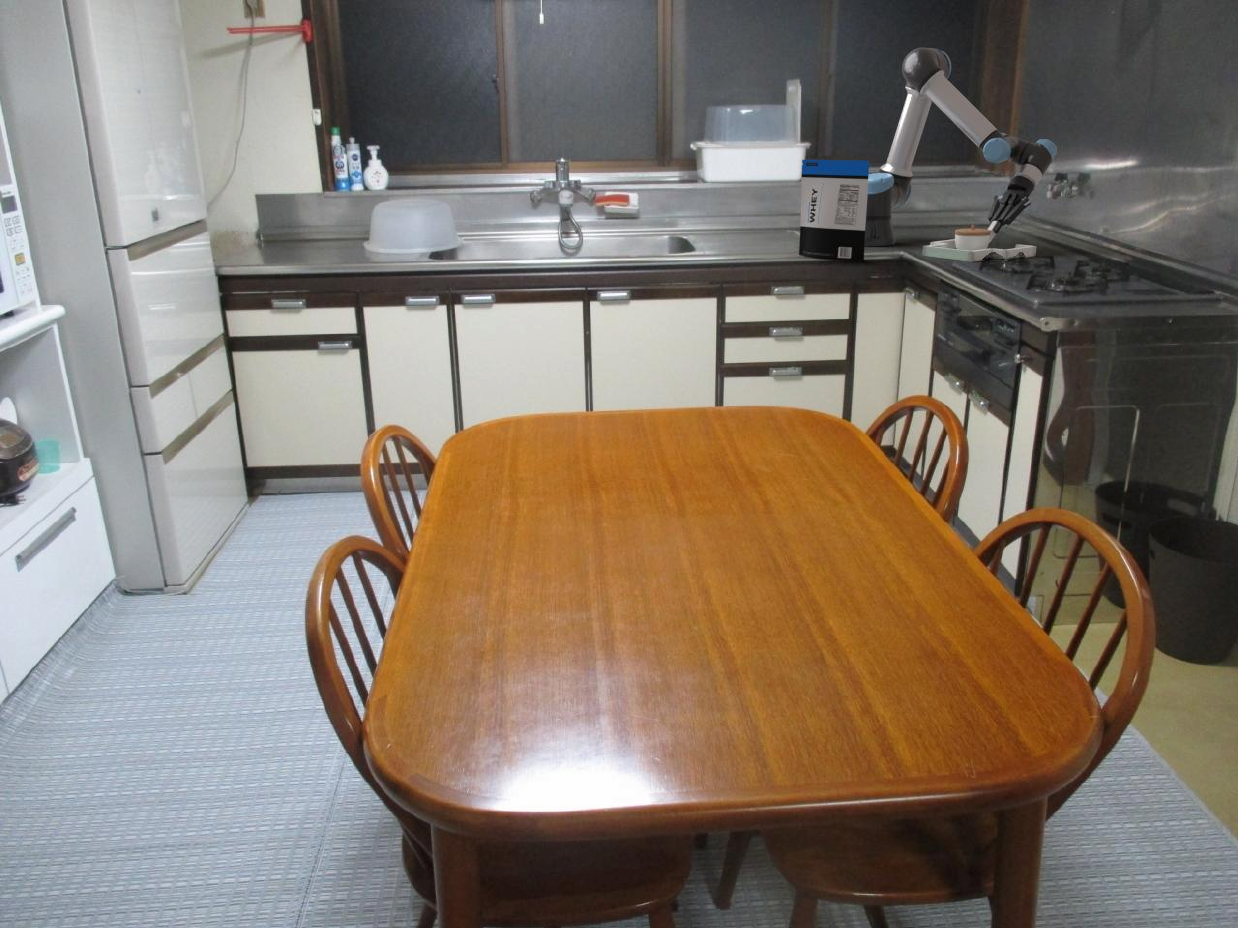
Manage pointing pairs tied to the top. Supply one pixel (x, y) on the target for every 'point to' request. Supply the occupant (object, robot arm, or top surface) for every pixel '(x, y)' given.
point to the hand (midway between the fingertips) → (986, 239)
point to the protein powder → (833, 209)
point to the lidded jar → (972, 239)
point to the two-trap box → (951, 252)
